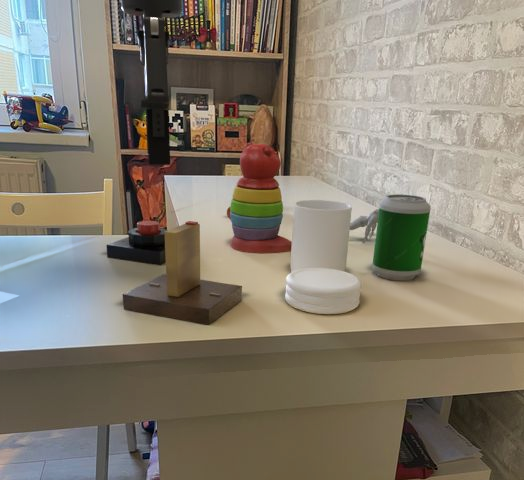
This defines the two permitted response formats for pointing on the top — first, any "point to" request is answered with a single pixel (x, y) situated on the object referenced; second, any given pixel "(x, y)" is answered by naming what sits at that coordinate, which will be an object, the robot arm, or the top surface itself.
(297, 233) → the mug
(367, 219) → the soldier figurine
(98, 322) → the top surface
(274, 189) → the stacking bear
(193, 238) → the lock turn
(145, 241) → the release box
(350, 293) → the coaster
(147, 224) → the release button
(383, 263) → the soda can
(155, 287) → the plate
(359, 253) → the top surface
